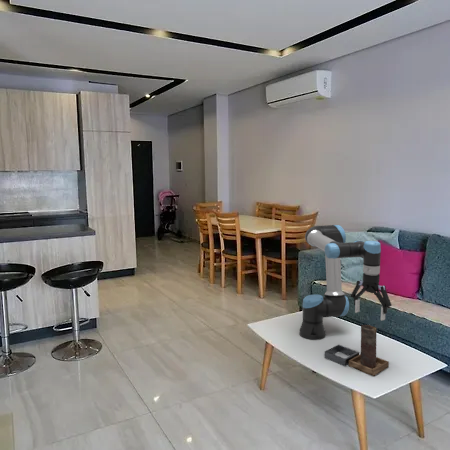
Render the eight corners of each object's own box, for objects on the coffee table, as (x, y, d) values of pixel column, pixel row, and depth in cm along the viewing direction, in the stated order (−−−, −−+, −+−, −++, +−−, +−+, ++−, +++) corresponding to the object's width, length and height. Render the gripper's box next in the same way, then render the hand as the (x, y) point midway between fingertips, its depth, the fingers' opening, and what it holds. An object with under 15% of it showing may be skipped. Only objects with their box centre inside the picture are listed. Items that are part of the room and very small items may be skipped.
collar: (324, 357, 208) (324, 351, 207) (338, 350, 215) (338, 344, 215) (345, 366, 198) (345, 359, 198) (359, 358, 206) (359, 352, 205)
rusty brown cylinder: (357, 361, 201) (358, 323, 198) (371, 361, 201) (372, 323, 199) (364, 369, 193) (365, 329, 191) (378, 368, 194) (380, 329, 191)
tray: (348, 366, 198) (348, 360, 198) (363, 357, 207) (363, 352, 206) (373, 376, 188) (374, 370, 187) (388, 367, 196) (388, 361, 196)
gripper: (344, 269, 198) (343, 310, 201) (392, 280, 179) (390, 325, 182) (352, 267, 203) (351, 307, 206) (400, 277, 184) (398, 321, 187)
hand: (369, 315), depth 194 cm, fingers open, 13 cm apart
